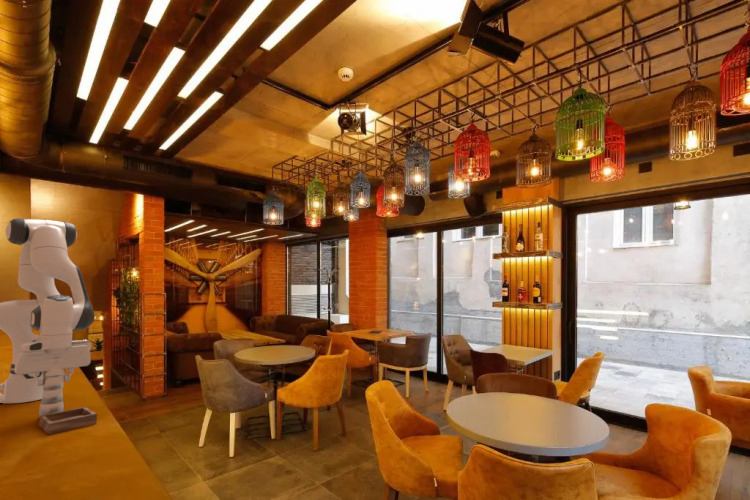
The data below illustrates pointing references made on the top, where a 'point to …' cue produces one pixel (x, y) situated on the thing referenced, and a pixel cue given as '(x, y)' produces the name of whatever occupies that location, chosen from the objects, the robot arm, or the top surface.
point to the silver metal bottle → (52, 390)
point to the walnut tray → (67, 420)
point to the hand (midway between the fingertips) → (53, 383)
